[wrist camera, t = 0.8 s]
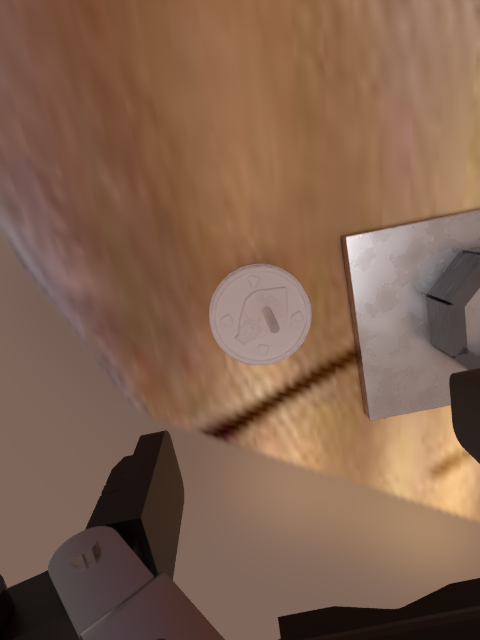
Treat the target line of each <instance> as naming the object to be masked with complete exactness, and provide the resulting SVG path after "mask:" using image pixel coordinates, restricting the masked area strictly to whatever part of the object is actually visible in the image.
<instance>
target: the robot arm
mask: <svg viewBox="0 0 480 640" xmlns="http://www.w3.org/2000/svg"><path fill="white" fill-rule="evenodd" d="M449 387H450V399H451V411H452V423H453V429H454V432H455V435H456V437H457V439H458V441H459V443H460V444H461V446H462V447H463V448H464V449H465V450H466V451H467V452H468V453H469V454H470V455H471V456H472V457H473V458H474V459H475V460H476V461H477V462H478V463H480V368H476V369H471V370H466V371H461V372H456V373H452V374H451V375H450V378H449ZM183 505H184V487H183V481H182V476H181V473H180V469H179V465H178V462H177V458H176V454H175V451H174V447H173V443H172V440H171V437H170V434H169V432H168V431H161V432H156V433H151V434H147V435H142V436H140V438H139V441H138V443H137V446H136V449H135V451H134V454H133V455H131V456H126V457H124V458H123V459H122V460H121V461H120V462H119V463H118V464H117V465H116V466H115V467H114V468H113V469H112V471H111V473H110V475H109V477H108V480H107V482H106V485H105V486H104V489H103V491H102V496H100V498H99V500H98V502H97V504H96V507H95V509H94V511H93V513H92V516H91V518H90V520H89V522H88V525H87V527H86V529H85V530H84V531H82V532H80V533H78V534H76V535H74V536H72V537H71V538H69V539H68V540H67V541H66V542H64V543H63V544H62V545H61V546H60V547H59V548H58V549H57V551H56V552H55V553H54V554H53V556H52V558H51V560H50V562H49V566H48V570H47V571H45V572H44V573H41V574H39V575H37V576H35V577H32V578H30V579H28V580H26V581H23V582H21V583H19V584H17V585H14V586H12V587H10V588H7V586H6V584H5V581H4V579H3V577H2V576H1V575H0V640H225V639H224V638H223V637H222V636H221V635H220V634H219V633H218V632H217V630H216V629H215V628H214V627H213V626H212V625H211V624H210V622H209V621H208V620H207V619H206V618H205V617H204V616H203V614H202V613H201V612H200V611H199V610H198V609H197V608H196V607H195V605H194V604H193V603H192V602H191V601H190V600H189V599H188V597H187V596H186V595H185V594H184V593H183V592H182V591H181V589H180V588H179V587H178V586H177V585H176V584H175V583H174V582H173V574H174V567H175V561H176V554H177V546H178V540H179V533H180V525H181V519H182V512H183ZM278 621H279V628H280V636H281V638H280V639H279V640H480V578H478V579H472V580H468V581H462V582H457V583H452V584H449V585H447V586H445V587H443V588H441V589H439V590H437V591H435V592H433V593H431V594H429V595H427V596H425V597H423V598H421V599H419V600H417V601H415V602H412V603H410V604H408V605H406V606H405V607H402V608H399V609H377V608H357V607H337V606H334V607H329V608H323V609H318V610H312V611H307V612H302V613H297V614H292V615H286V616H282V617H278Z"/></svg>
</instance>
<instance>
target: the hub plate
mask: <svg viewBox="0 0 480 640" xmlns="http://www.w3.org/2000/svg"><path fill="white" fill-rule="evenodd" d="M341 242H342V249H343V256H344V264H345V271H346V279H347V286H348V294H349V301H350V308H351V316H352V323H353V331H354V338H355V345H356V353H357V360H358V368H359V375H360V382H361V390H362V397H363V405H364V412H365V414H366V416H367V417H368V418H369V420H370V421H372V420H377V419H382V418H387V417H392V416H397V415H402V414H408V413H413V412H418V411H423V410H428V409H433V408H439V407H444V406H449V405H451V399H450V387H449V378H450V375H451V374H452V373H456V372H461V371H466V370H471V369H476V368H480V209H475V210H470V211H465V212H460V213H455V214H450V215H445V216H440V217H435V218H430V219H425V220H420V221H415V222H410V223H405V224H400V225H395V226H390V227H385V228H380V229H375V230H370V231H365V232H360V233H355V234H350V235H345V236H341Z"/></svg>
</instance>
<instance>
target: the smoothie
mask: <svg viewBox="0 0 480 640" xmlns="http://www.w3.org/2000/svg"><path fill="white" fill-rule="evenodd" d="M209 321H210V327H211V330H212V333H213V336H214V338H215V340H216V342H217V343H218V345H219V346H220V347H221V349H222V350H223V351H224V352H225V353H227V354H228V355H229V356H231V357H232V358H234V359H235V360H237V361H240V362H242V363H245V364H250V365H270V364H274V363H277V362H280V361H282V360H284V359H286V358H287V357H289V356H290V355H292V354H293V353H294V352H295V351H296V350H297V349H298V348H299V347H300V346H301V345H302V343H303V342H304V340H305V338H306V336H307V334H308V332H309V328H310V324H311V305H310V301H309V298H308V296H307V293H306V291H305V290H304V288H303V286H302V285H301V284H300V282H299V281H298V280H297V279H296V278H295V277H294V276H293V275H292V274H290V273H289V272H287V271H286V270H284V269H282V268H280V267H277V266H274V265H270V264H251V265H247V266H243V267H240V268H238V269H237V270H235V271H233V272H231V273H229V274H228V275H227V276H226V277H225V278H224V279H223V280H222V281H221V282H220V283H219V285H218V286H217V288H216V290H215V291H214V293H213V295H212V299H211V302H210V306H209Z"/></svg>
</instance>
